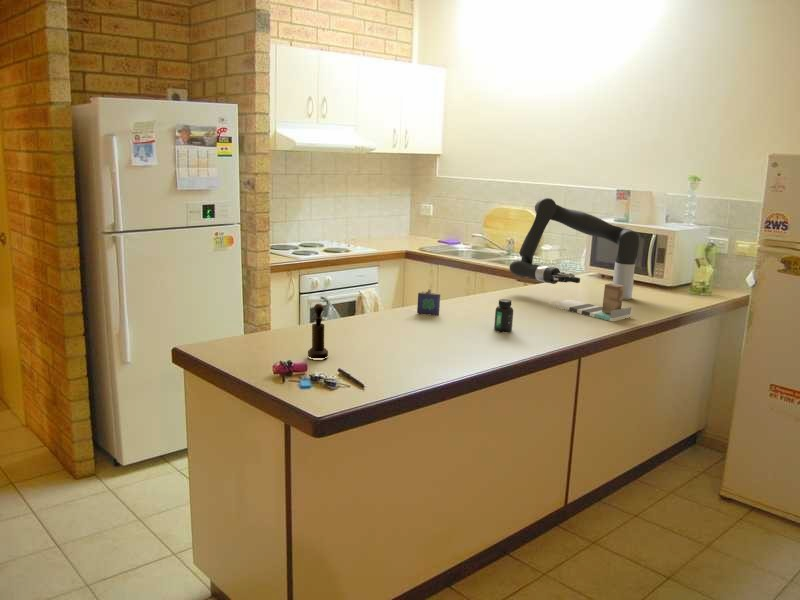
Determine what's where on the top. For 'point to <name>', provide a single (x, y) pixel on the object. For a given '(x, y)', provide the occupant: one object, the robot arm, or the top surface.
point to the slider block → (612, 297)
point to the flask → (428, 303)
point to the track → (593, 310)
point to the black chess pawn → (318, 335)
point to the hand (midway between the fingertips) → (579, 280)
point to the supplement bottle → (503, 316)
